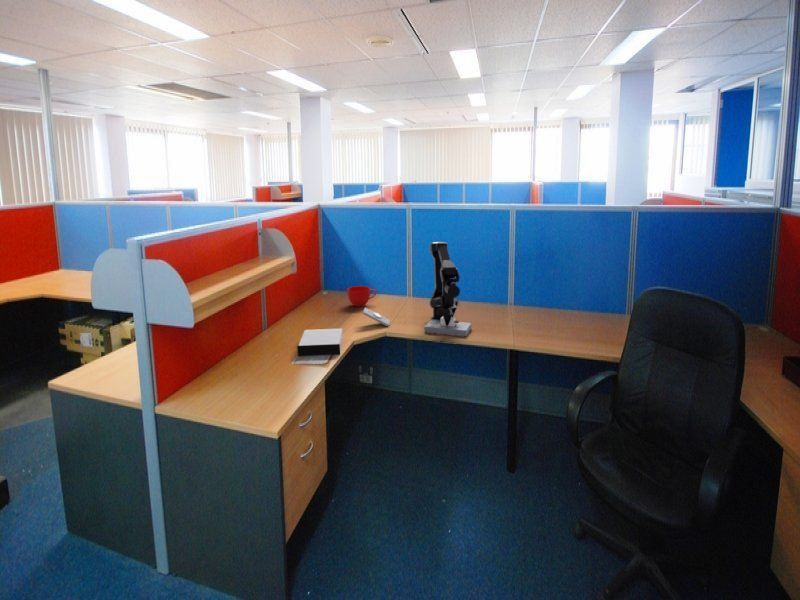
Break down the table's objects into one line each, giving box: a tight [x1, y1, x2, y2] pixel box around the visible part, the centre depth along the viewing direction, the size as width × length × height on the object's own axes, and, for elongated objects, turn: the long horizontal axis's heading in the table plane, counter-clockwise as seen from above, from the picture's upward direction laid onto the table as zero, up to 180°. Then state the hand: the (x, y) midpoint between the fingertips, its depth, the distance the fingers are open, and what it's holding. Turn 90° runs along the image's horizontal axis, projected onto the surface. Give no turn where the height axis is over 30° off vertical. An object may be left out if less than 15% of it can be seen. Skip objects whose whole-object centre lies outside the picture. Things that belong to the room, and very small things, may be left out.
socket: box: [424, 319, 472, 337], centre depth 229 cm, size 12×20×3 cm, turn 70°
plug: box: [441, 316, 460, 327], centre depth 229 cm, size 4×8×6 cm, turn 70°
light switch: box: [362, 307, 391, 327], centre depth 241 cm, size 8×6×14 cm
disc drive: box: [296, 328, 344, 357], centre depth 211 cm, size 18×22×5 cm
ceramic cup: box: [346, 285, 378, 308], centre depth 276 cm, size 13×17×10 cm
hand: (448, 324), depth 229 cm, fingers closed on plug, 4 cm apart
